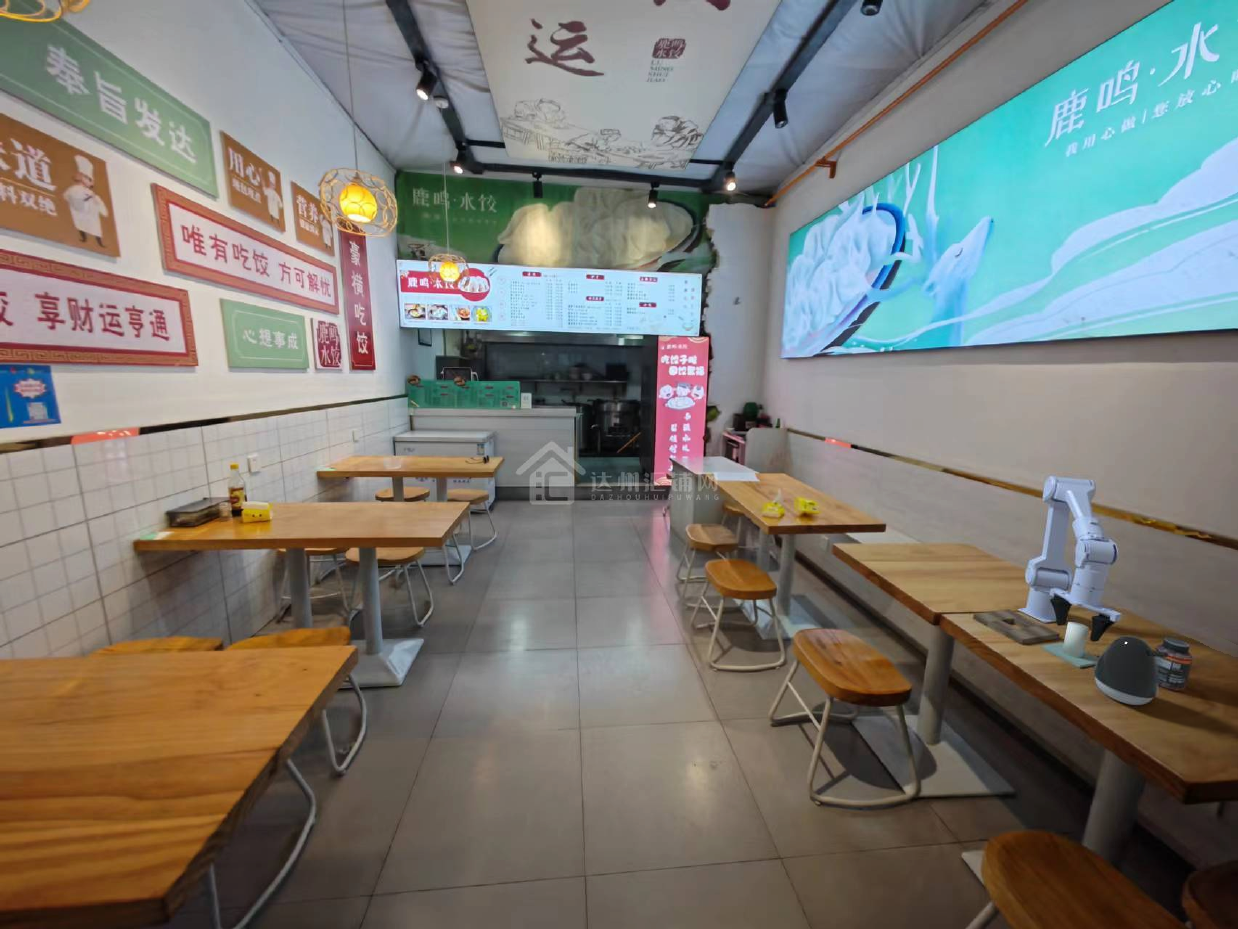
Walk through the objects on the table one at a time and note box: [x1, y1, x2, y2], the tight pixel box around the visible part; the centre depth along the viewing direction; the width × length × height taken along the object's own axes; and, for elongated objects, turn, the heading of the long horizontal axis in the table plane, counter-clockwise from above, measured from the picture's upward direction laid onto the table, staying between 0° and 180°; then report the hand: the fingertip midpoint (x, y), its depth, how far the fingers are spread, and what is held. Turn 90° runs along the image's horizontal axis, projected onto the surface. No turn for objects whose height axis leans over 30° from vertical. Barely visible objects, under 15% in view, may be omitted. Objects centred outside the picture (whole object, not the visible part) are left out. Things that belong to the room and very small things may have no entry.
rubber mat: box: [1040, 641, 1100, 669], centre depth 126 cm, size 9×9×1 cm
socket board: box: [972, 609, 1061, 645], centre depth 139 cm, size 14×14×2 cm
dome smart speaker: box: [1092, 635, 1169, 706], centre depth 108 cm, size 10×10×15 cm
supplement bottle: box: [1154, 637, 1194, 692], centre depth 114 cm, size 6×6×11 cm
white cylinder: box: [1062, 621, 1090, 658], centre depth 125 cm, size 4×4×8 cm
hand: (1077, 632), depth 125 cm, fingers open, 7 cm apart
